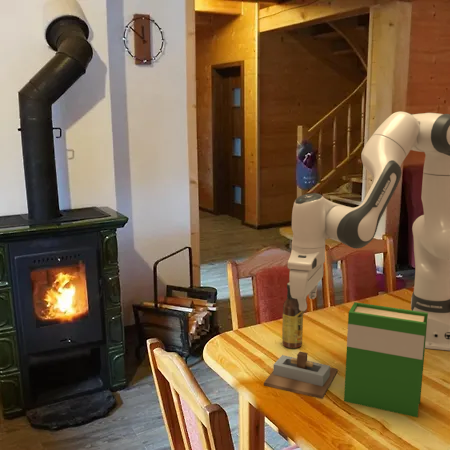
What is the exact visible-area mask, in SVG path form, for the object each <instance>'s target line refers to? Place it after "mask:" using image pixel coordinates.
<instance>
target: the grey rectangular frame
mask: <svg viewBox="0 0 450 450" xmlns="http://www.w3.org/2000/svg"><path fill="white" fill-rule="evenodd" d="M292 358H294V359H297V357H294V356H288V355H284V354H282V355H281V356H280V357H279V358H277V360H276V362H274V363H273V369H272V372H273V374H274V375H278V376H282V377H286V378H290V379H294V380H298V381H302V382H306V383H310V384H314V385H318V386H322V387H323V385H324V384H325V382H326V381H327V379H328V378H329V377H330V367H331V365H327V364H323V363H319V362H314V361H310V360H308V361H309V362H313V367H308V366H307V370H306V369H302V368H298V367H297V364H294V363H291V359H292Z"/></svg>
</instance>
